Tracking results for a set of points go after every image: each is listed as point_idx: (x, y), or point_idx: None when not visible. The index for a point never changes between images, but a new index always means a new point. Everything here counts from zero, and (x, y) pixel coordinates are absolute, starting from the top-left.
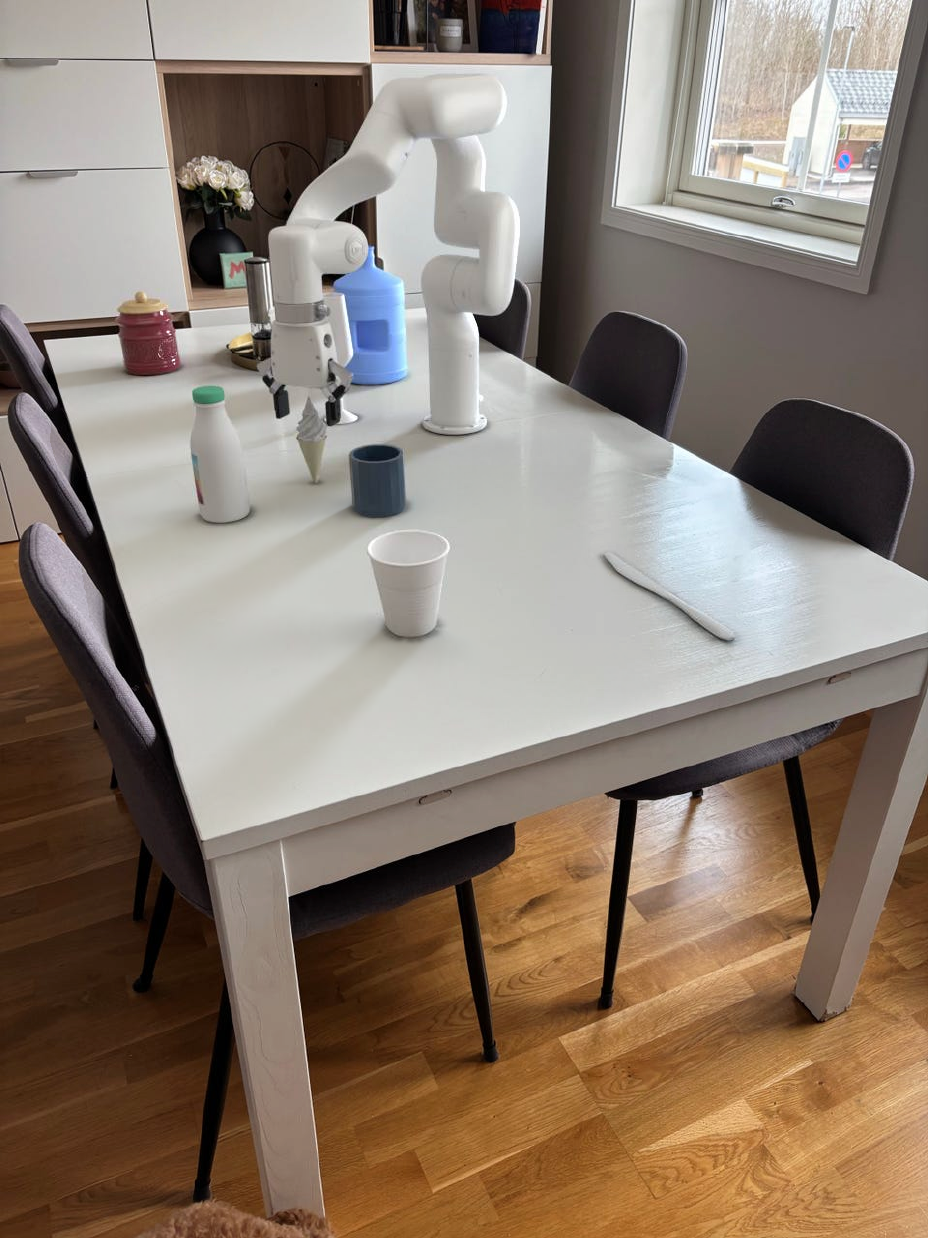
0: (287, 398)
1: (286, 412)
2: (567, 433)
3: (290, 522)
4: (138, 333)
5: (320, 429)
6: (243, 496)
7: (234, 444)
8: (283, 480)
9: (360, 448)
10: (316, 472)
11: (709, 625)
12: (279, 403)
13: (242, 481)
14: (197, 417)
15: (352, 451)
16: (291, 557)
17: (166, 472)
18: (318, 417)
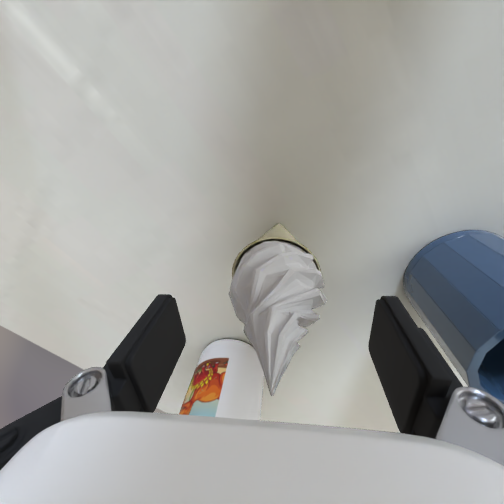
0: (148, 344)
1: (174, 317)
2: None
3: (330, 356)
4: None
5: (318, 304)
6: (262, 390)
7: None
8: (216, 239)
9: (492, 347)
10: (287, 241)
11: None
12: (165, 381)
13: (260, 412)
14: None
15: (473, 370)
16: (382, 416)
17: (39, 281)
18: (298, 301)
